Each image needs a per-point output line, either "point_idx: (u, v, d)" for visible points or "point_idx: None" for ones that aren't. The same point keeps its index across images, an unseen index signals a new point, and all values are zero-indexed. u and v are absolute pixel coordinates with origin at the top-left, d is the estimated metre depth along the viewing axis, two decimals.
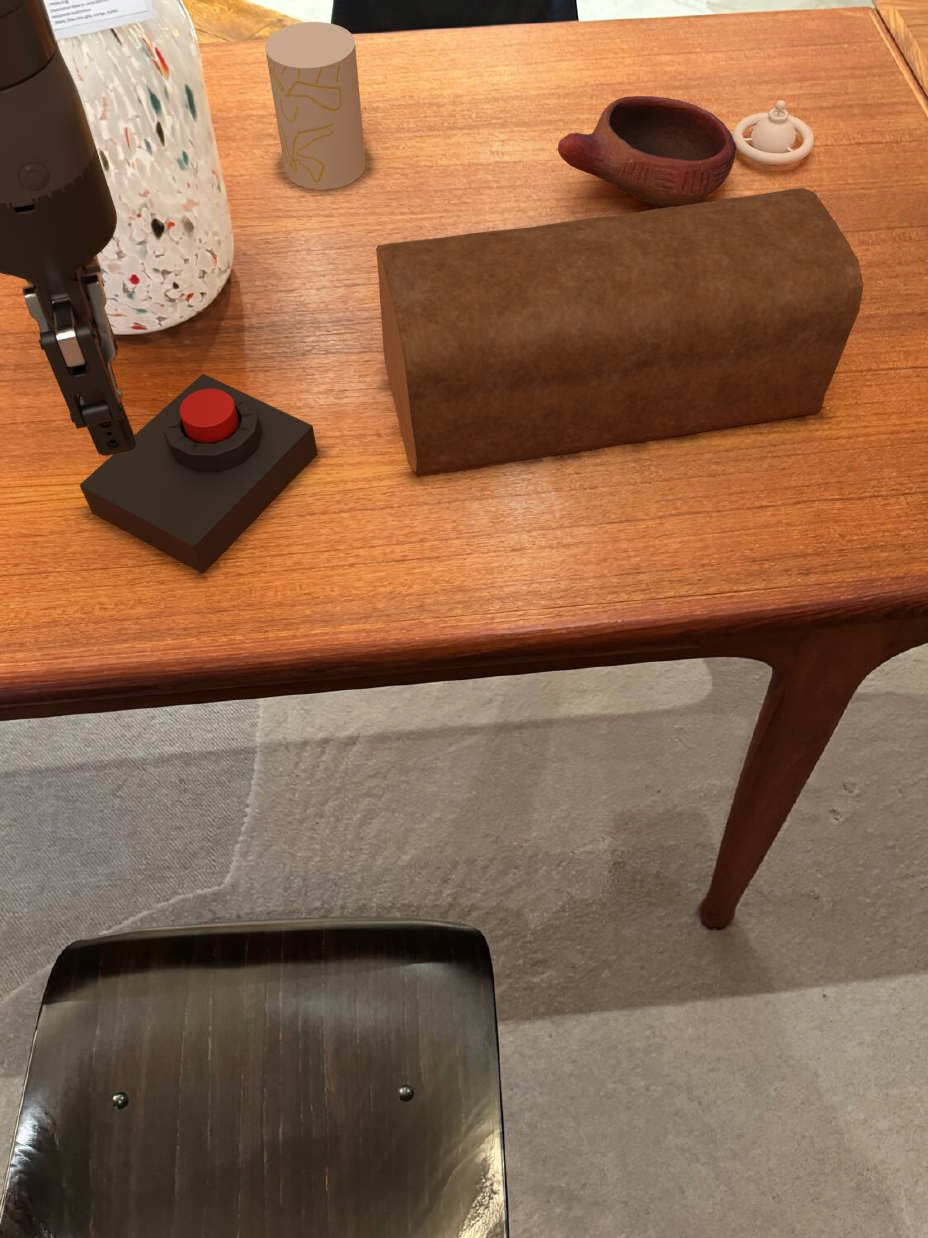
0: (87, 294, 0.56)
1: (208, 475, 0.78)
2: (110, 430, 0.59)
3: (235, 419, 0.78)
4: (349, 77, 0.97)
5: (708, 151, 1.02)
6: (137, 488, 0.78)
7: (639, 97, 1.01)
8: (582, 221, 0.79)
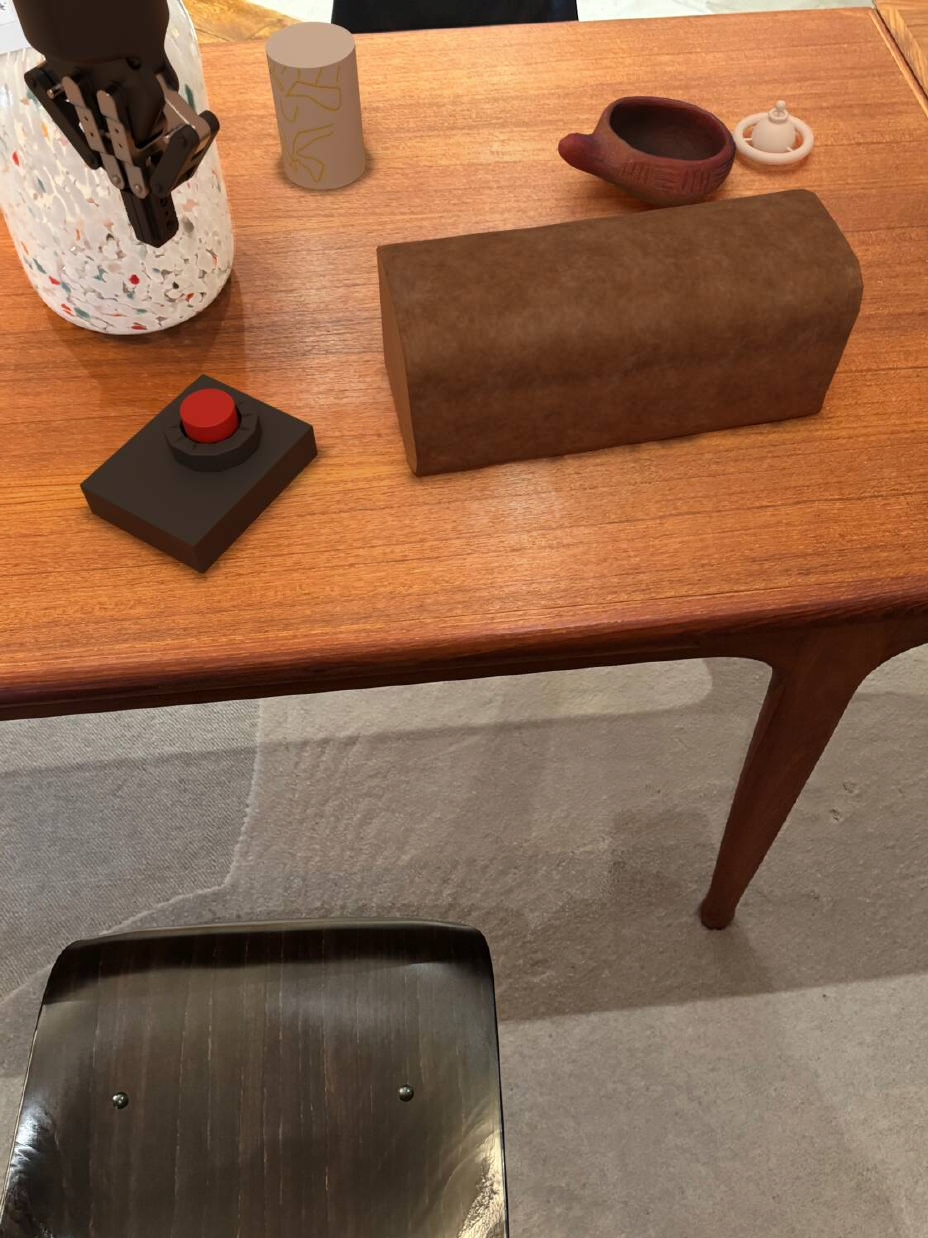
0: None
1: (208, 475, 0.78)
2: (167, 208, 0.64)
3: (235, 419, 0.78)
4: (349, 77, 0.97)
5: (708, 151, 1.02)
6: (137, 488, 0.78)
7: (639, 97, 1.01)
8: (582, 222, 0.79)
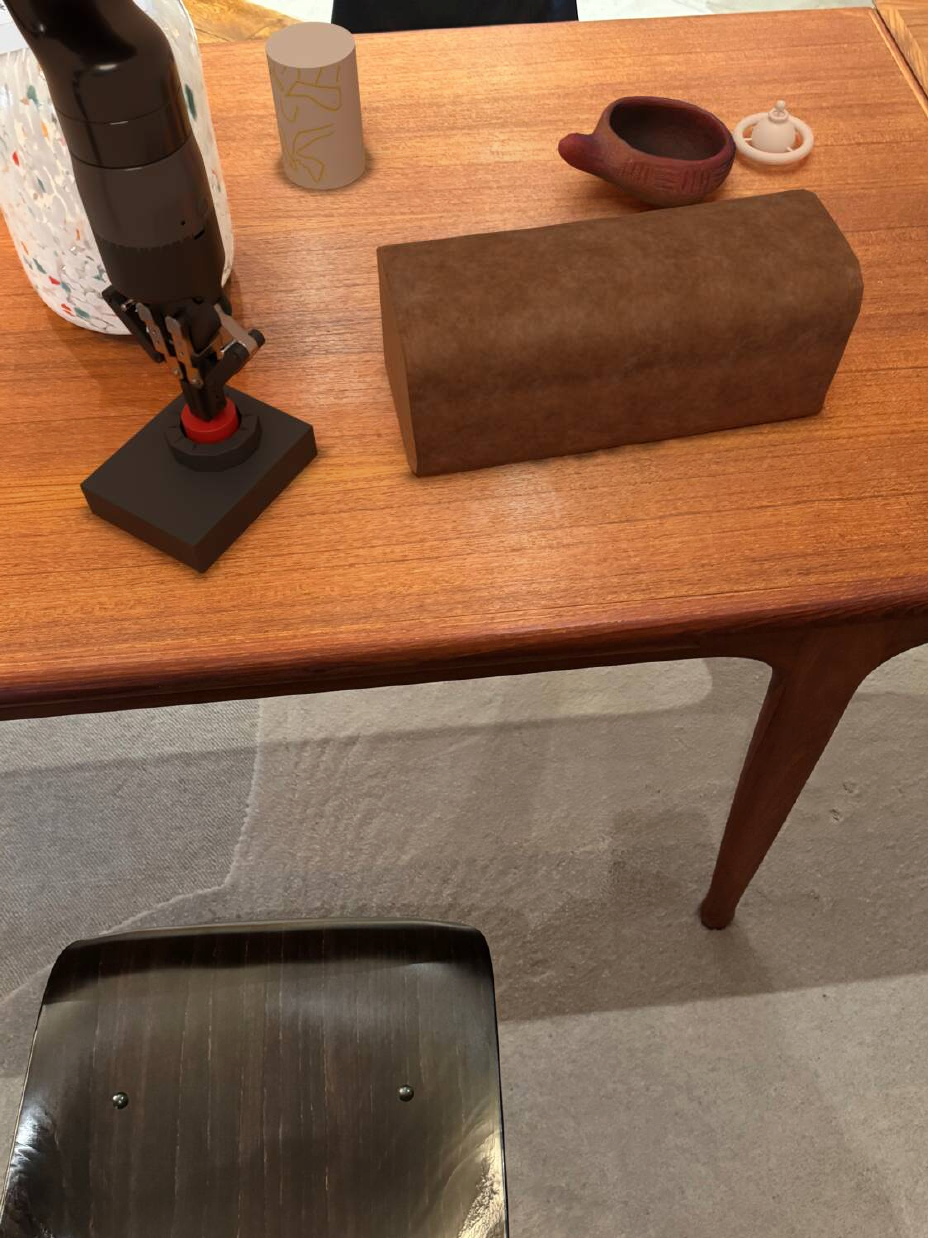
0: None
1: (208, 475, 0.78)
2: (218, 393, 0.76)
3: (236, 424, 0.79)
4: (349, 77, 0.97)
5: (708, 151, 1.02)
6: (137, 488, 0.78)
7: (639, 97, 1.01)
8: (582, 222, 0.79)
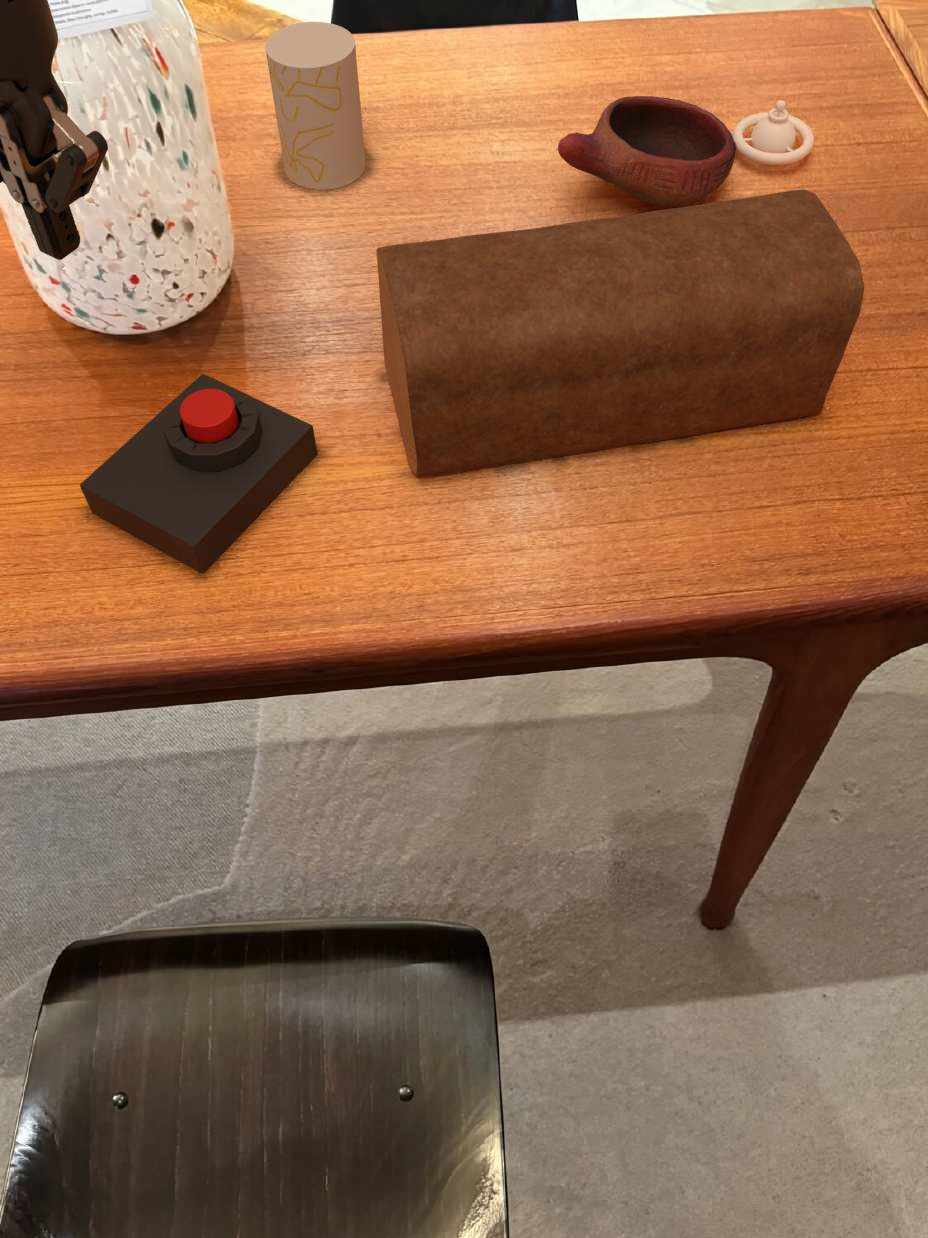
0: None
1: (208, 475, 0.78)
2: (67, 222, 0.66)
3: (235, 419, 0.78)
4: (349, 77, 0.97)
5: (708, 151, 1.02)
6: (137, 488, 0.78)
7: (639, 97, 1.01)
8: (582, 223, 0.79)
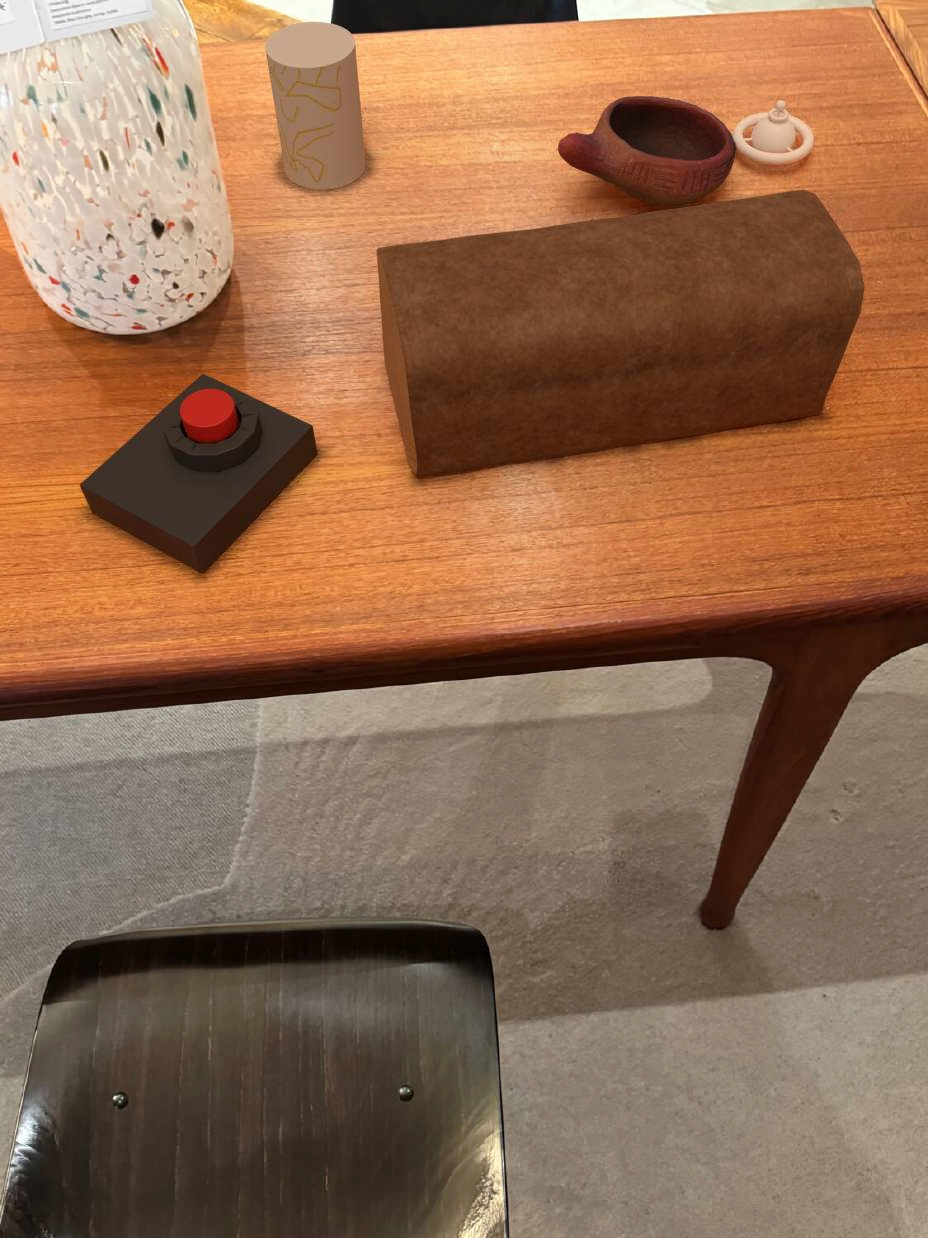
0: None
1: (208, 475, 0.78)
2: None
3: (235, 419, 0.78)
4: (349, 77, 0.97)
5: (708, 151, 1.02)
6: (137, 488, 0.78)
7: (639, 97, 1.01)
8: (583, 223, 0.79)
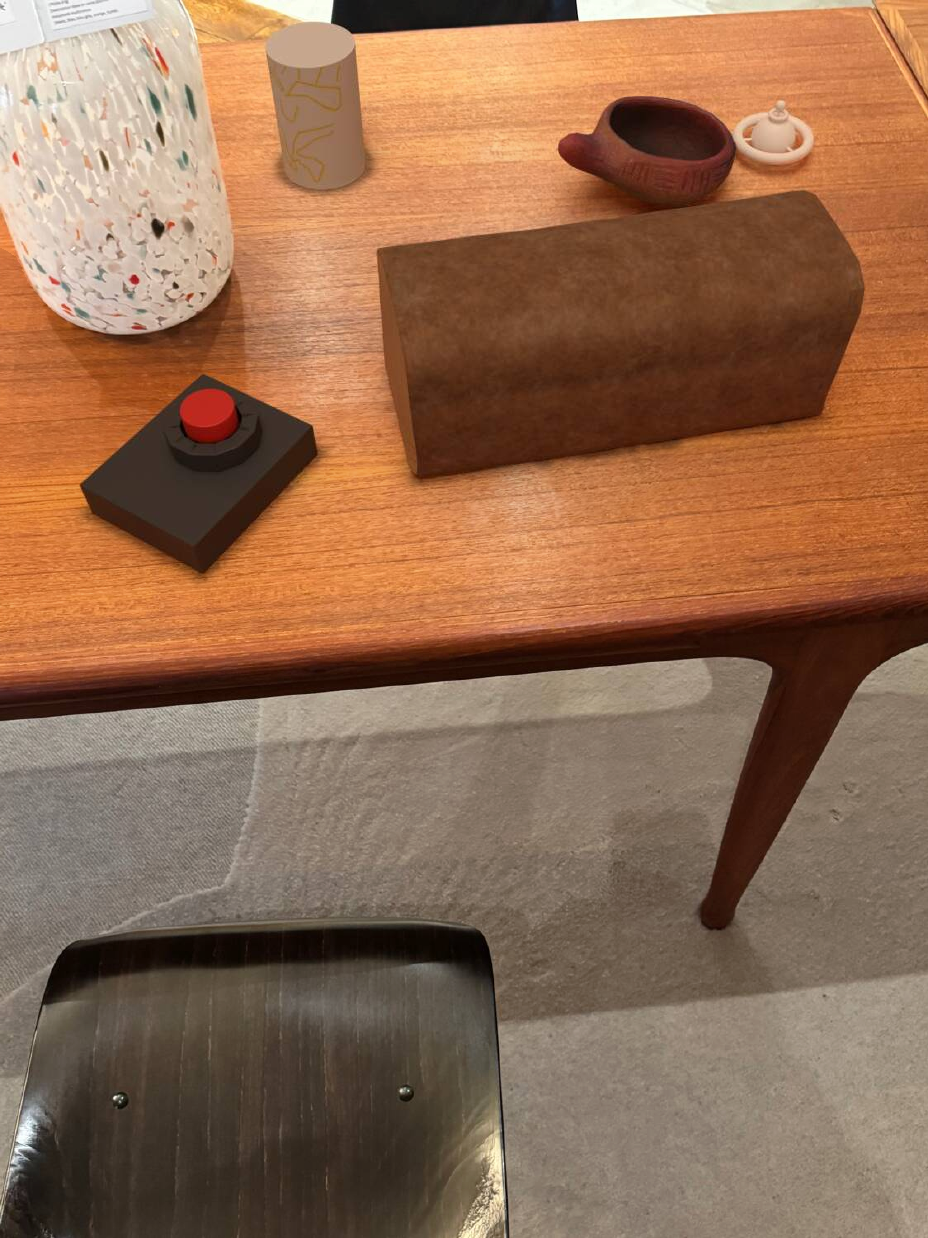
0: None
1: (208, 475, 0.78)
2: None
3: (235, 419, 0.78)
4: (349, 77, 0.97)
5: (708, 151, 1.02)
6: (137, 488, 0.78)
7: (639, 97, 1.01)
8: (583, 223, 0.79)
